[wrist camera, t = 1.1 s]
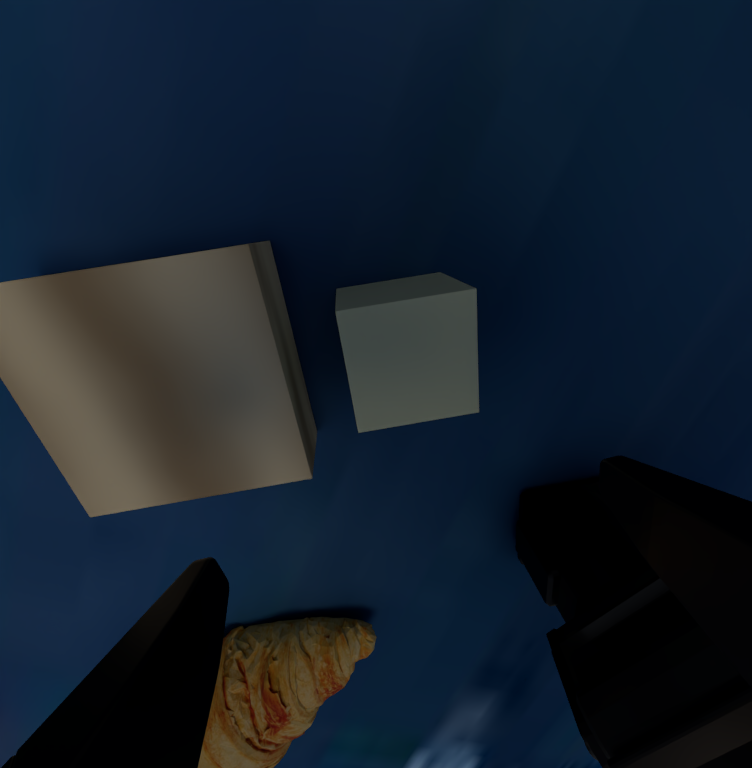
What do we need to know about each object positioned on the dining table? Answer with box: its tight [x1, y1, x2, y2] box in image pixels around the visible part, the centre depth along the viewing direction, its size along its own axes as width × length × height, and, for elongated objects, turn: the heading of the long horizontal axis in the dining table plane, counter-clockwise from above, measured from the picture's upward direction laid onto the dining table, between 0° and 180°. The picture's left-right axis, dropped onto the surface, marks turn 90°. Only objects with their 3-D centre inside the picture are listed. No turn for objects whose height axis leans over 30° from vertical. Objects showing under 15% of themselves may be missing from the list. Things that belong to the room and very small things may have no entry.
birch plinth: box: [0, 241, 317, 517], centre depth 16 cm, size 10×10×4 cm
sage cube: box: [335, 272, 479, 433], centre depth 16 cm, size 5×5×5 cm
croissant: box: [198, 617, 376, 768], centre depth 25 cm, size 21×10×8 cm, turn 120°
